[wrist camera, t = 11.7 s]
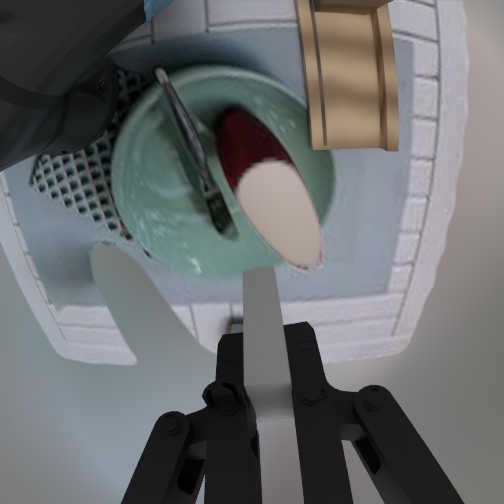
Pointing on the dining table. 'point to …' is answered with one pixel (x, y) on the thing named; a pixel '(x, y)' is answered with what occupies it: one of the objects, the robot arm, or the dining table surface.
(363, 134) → the brown wooden tray
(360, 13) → the brown wooden block
